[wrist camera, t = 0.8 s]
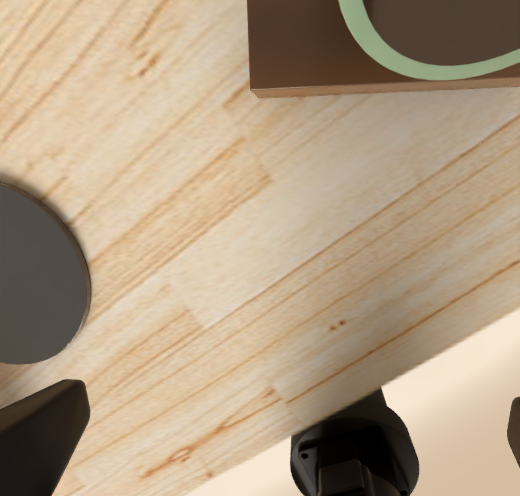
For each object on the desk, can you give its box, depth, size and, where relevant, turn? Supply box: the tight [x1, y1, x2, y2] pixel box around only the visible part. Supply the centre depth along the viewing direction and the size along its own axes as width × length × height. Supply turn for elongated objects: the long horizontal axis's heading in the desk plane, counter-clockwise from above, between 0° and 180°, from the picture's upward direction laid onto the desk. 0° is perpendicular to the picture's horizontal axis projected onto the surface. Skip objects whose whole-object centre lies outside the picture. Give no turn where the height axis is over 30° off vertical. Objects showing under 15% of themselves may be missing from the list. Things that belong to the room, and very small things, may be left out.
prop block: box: [247, 0, 520, 98], centre depth 15 cm, size 4×12×3 cm, turn 92°
